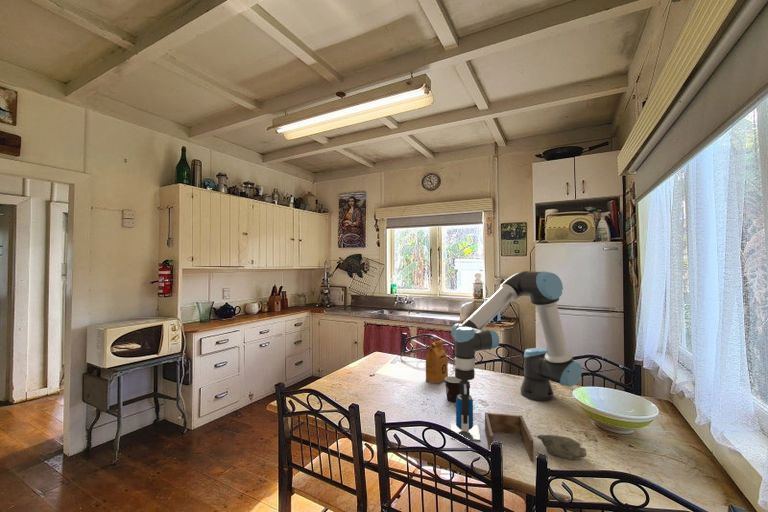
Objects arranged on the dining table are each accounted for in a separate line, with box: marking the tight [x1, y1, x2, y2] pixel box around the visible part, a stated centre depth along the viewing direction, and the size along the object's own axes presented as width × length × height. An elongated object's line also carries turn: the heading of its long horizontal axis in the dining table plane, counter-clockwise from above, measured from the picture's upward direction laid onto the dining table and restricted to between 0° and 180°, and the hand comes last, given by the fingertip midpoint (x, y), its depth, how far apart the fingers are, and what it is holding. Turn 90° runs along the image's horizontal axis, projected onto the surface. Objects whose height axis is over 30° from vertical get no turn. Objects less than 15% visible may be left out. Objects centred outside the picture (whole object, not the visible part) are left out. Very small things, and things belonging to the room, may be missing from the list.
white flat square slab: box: [450, 422, 481, 442], centre depth 130 cm, size 11×11×1 cm
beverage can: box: [455, 394, 474, 430], centre depth 130 cm, size 6×6×12 cm
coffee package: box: [425, 339, 449, 384], centre depth 185 cm, size 10×12×22 cm
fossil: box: [536, 434, 588, 460], centre depth 116 cm, size 14×10×10 cm
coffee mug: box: [444, 375, 461, 404], centre depth 161 cm, size 12×9×10 cm
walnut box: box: [484, 411, 534, 462], centre depth 121 cm, size 14×18×7 cm
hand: (464, 426), depth 130 cm, fingers closed on beverage can, 6 cm apart
